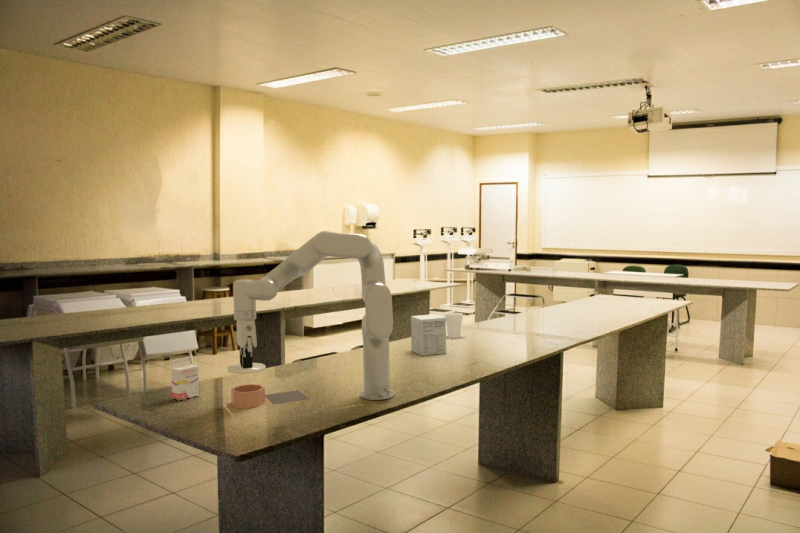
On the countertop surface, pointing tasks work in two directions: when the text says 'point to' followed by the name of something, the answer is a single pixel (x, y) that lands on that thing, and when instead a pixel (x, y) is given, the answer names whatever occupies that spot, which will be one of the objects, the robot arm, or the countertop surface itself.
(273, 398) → the mat
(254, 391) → the bowl
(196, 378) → the ink cartridge box
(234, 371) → the lid
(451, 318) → the foam cup
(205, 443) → the countertop surface
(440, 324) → the supplement box
